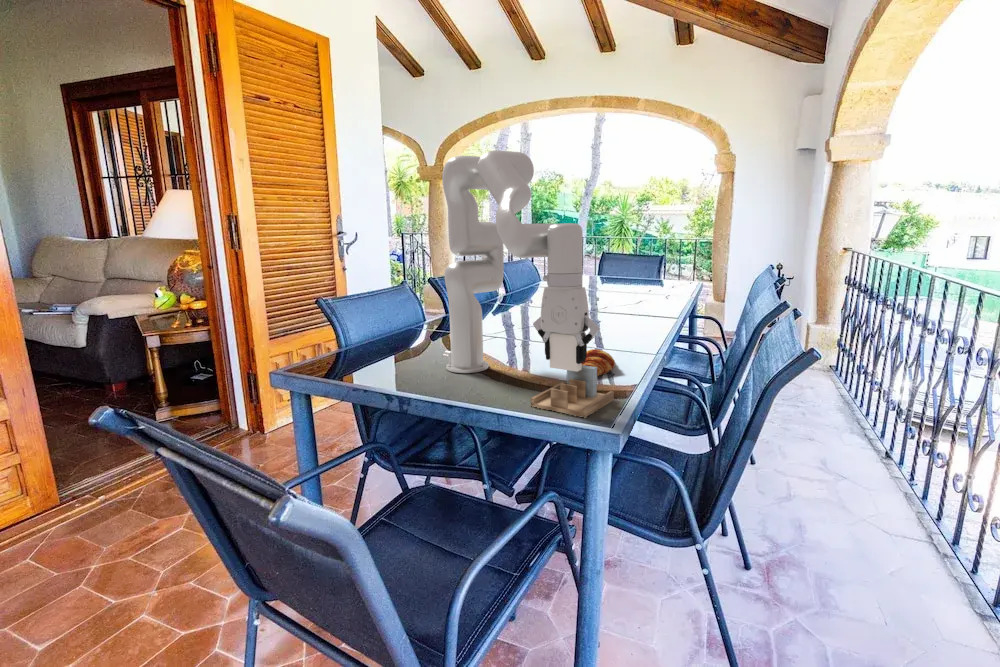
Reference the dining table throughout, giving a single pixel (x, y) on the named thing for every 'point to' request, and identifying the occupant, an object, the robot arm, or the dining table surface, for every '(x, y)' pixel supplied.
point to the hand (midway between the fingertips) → (565, 359)
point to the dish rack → (574, 394)
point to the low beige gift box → (563, 352)
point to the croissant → (599, 361)
